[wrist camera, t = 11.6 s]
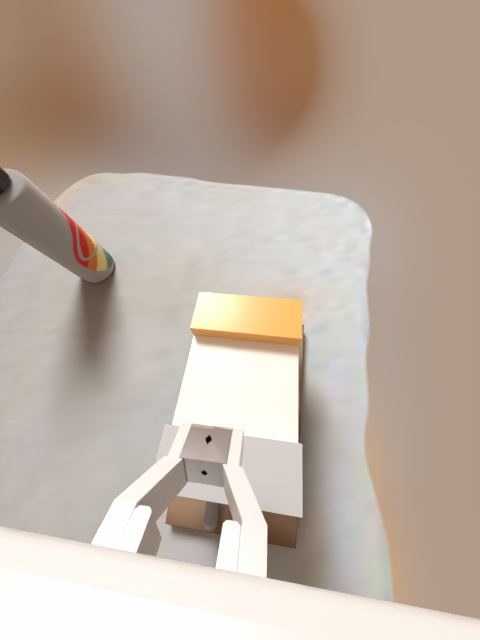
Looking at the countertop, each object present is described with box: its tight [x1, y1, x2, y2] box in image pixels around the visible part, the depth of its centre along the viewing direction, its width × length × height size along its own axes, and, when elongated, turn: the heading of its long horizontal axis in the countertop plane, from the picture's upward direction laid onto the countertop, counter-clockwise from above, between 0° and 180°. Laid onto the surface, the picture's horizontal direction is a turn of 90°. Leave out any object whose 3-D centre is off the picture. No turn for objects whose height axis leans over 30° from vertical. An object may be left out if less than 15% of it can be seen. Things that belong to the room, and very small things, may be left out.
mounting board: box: [165, 325, 304, 549], centre depth 28 cm, size 24×14×2 cm, turn 173°
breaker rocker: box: [155, 292, 303, 518], centre depth 19 cm, size 16×10×3 cm, turn 173°
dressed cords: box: [204, 501, 220, 531], centre depth 25 cm, size 13×5×1 cm, turn 173°
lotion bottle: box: [0, 167, 114, 283], centre depth 27 cm, size 6×6×20 cm
